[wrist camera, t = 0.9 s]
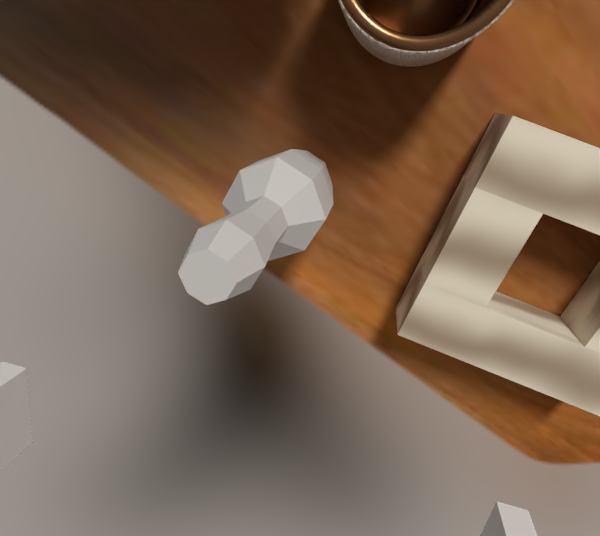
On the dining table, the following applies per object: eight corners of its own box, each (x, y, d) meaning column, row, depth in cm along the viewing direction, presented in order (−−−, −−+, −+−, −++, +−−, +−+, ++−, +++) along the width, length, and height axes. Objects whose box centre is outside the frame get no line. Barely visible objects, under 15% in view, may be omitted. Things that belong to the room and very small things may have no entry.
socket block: (494, 113, 32) (513, 115, 28) (724, 199, 32) (781, 217, 27) (396, 307, 40) (397, 334, 35) (580, 381, 39) (606, 418, 34)
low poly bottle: (254, 172, 37) (101, 259, 17) (309, 125, 35) (208, 161, 15) (299, 229, 39) (205, 371, 18) (356, 186, 36) (319, 297, 16)
